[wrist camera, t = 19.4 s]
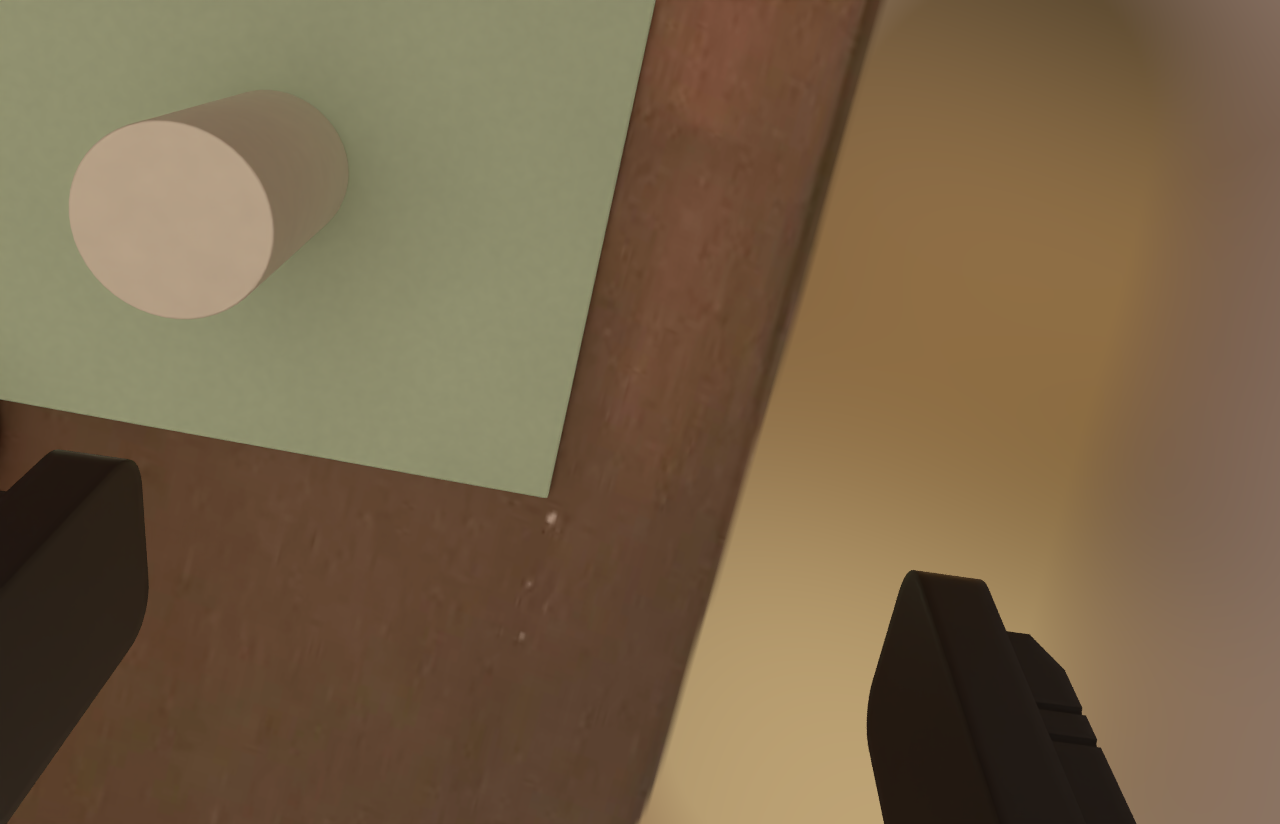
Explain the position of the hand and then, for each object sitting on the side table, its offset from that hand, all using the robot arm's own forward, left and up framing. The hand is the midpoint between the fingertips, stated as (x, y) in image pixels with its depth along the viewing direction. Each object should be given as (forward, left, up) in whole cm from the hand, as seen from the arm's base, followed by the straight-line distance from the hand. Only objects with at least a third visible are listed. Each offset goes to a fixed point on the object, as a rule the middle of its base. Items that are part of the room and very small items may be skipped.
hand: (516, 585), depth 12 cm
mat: (+8, +2, -24) cm, 26 cm away
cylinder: (+8, +1, -24) cm, 25 cm away
